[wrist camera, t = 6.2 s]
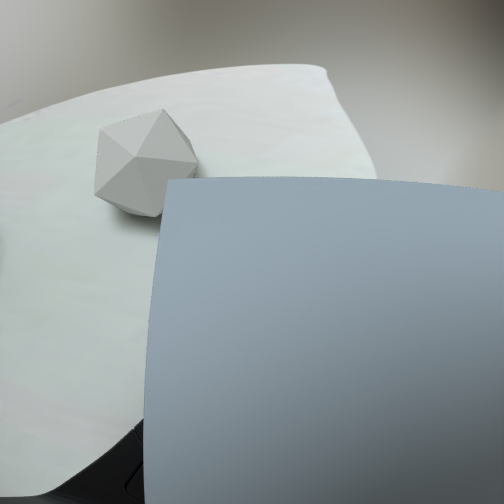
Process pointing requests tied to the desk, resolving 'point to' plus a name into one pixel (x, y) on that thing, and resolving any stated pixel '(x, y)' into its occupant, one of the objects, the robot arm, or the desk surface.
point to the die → (142, 162)
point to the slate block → (326, 344)
